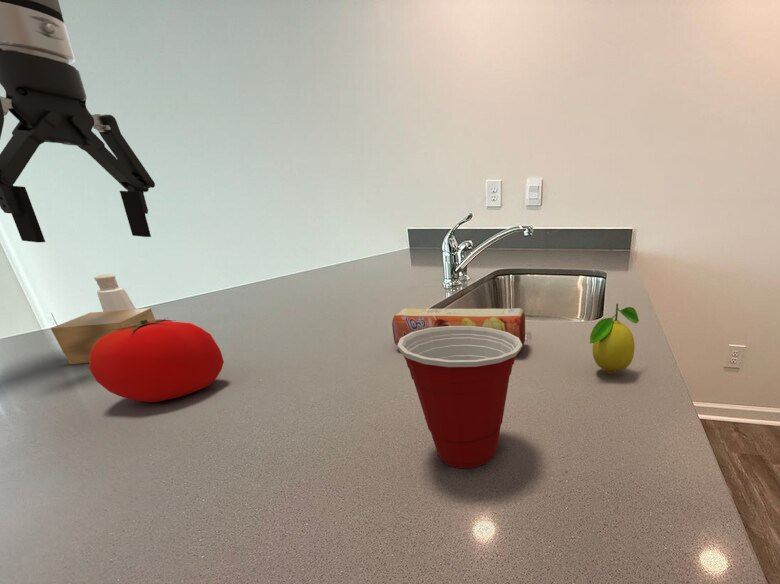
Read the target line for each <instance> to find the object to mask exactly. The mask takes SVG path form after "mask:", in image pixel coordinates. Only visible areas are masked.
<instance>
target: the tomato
mask: <svg viewBox="0 0 780 584" xmlns="http://www.w3.org/2000/svg"><path fill="white" fill-rule="evenodd" d="M138 323H139V324H137V325H133V326H129V327H124V328H119V329H113V330H116V331H114V332H112V333H110V334H108V335H106V336H104V337H102V338H100V339H99V340H98V341H97V342H96V343H95V345H94V347H93V348H92V350H91V351H90V362H89V363H88V364H89V367H88V369H89V371H90V373H91V374H92V377H93V378H94V380H95V381H96V382H97V383H98V384H99V385H100V386H101V387H103V388H104V389H105V390H106V391H108V392H109V393H110V394H114V395H116V396H118V397H121V398H124V399H127V400H130V401H134V402H145V403H146V402H147V403H156V402H157V403H158V402H163V401H168V400H173V399H178V398H182V397H184V396H187V395H189V394H192V393H195V392H197V391H200V390H203V389H205V388H207V387H209V386H210V385H211V384H212V383H213V382H214V381H215V380H216V379H217V378H218V377H219V375H220V373H221V372H222V370H223V366H224V363H225V362H224V358H223V355H222V354H223V353H222V351H221V348H220V347H219V346H218V344H217V342H216V341H215V339H214V338H213V336H212V334H211V333H210V332H208V331H206V330H205V329H203V328H202V327H200V326H198V325H196V324H194V323H192V322H184V321H183V322H182V321H176V319H174V320H171V319H169V317H167V319H166V318H164V319H163V318H162V319H160V318H159V319H155V320H151V321H147V320H141V321H140V322H138ZM108 331H111V330H108Z"/></svg>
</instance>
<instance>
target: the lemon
mask: <svg viewBox="0 0 780 584" xmlns="http://www.w3.org/2000/svg"><path fill="white" fill-rule="evenodd" d="M619 312H620V313H621V315H622V316H623V317H625V318H626V319H627V320H628V321H630V322H631V323H633V324H638V323H639V322H640V319H639V316H638V312H637V311H636V309H635V308H634V307H631V306H626V307H624V308H622V309H619V303H616V305H615V313H614V315H613V316H612V317H605V318H602V319H600V320H599V321H598V322H597V323H596V324H595V325H594V326H593V328H592V330H591V333H590V336H589V344H590V345H591V344H592V356H593V360H594V362H595V364H596V365H597V366H598V367H599V368H600V369H601V370H604V371H606V372H607V373H608V375H612V374H614V373H616V372H621V371H623V370H625V369H627V368H628V367H629V366H630V365H631V363H632V361H633V359H634V356H635V348H636V347H635V339H634V335H633V333H632V331H631V329H630V328H629V327H628V326H627V325H626V324H624V323H623V322H620V321H619V320H618V314H619ZM614 318H615V319H614Z"/></svg>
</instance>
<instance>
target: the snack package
mask: <svg viewBox="0 0 780 584" xmlns="http://www.w3.org/2000/svg"><path fill="white" fill-rule="evenodd" d="M391 325H392V326H391V327H392V336H393V342H394V344H395V346H397V345H398V343H399V340H400V338H402V337H404V336H405V335H407V334H409V333H411V332H415V331H419V330H423V329H427V328H434V327H444V326H475V327H484V328H492V329H496V330H500V331H504V332H508V333H510V334H512V335H514V336H516V337H518V338H519V339H520V341H521V343H522V348H521V350H520V351H519V352H518V354H520V353H521V352H522V350H523V349H524V348H523V347H524V345H525V341H526V315H525V311H524V310H523V309H522V308H520V307H516V308H407V307H403V308H401V309H400V310H398V311H397V312H396V313H395V314H394V315H393V318H392V322H391Z"/></svg>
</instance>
